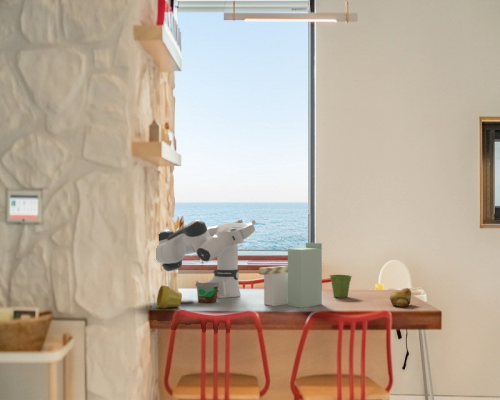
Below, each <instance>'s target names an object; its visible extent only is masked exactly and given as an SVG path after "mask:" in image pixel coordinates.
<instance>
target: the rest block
mask: <svg viewBox="0 0 500 400" xmlns="http://www.w3.org/2000/svg"><path fill="white" fill-rule="evenodd" d="M263 277H264V278H263V282H264V283H263V288H264V289H263V291H264V292H263V295H264V296H263V304H264V305H265V306H266V305H267V306H271V307H277V306H278V307H279V306H283V305H288V272H286V273H276V274H266V275H263Z"/></svg>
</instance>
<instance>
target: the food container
mask: <svg viewBox="0 0 500 400" xmlns="http://www.w3.org/2000/svg"><path fill="white" fill-rule="evenodd" d="M218 286H219V283H218V282H216V283H206V282H199V281H196V282H195V287H196V291H197V302H198V303H200V304H215V303H217V290H218Z"/></svg>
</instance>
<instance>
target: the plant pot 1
mask: <svg viewBox="0 0 500 400" xmlns="http://www.w3.org/2000/svg"><path fill="white" fill-rule="evenodd" d="M182 297H183V295H182V292H180V291H179V290H178V291H177V290H175V289H173V288H170V287H169V286H168V285H160V286H159V289H158V292H157V297H156V308H157V309H166V308H179V307H180V306H181V303H182Z"/></svg>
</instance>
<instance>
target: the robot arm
mask: <svg viewBox="0 0 500 400" xmlns="http://www.w3.org/2000/svg"><path fill="white" fill-rule="evenodd" d="M205 222H206V221H203V220H201V219H195V220H191V221H190V222H189V223H187V224H186V225H184V226H183V227H181V228H179V229H177V230H176V231H174V230H171V229H162V230H159V231H160V234H159V242H160V243H159V245H158V246H157V248H156V260H157V261H156V260H155V261H156V262H157V263H159V264H161V267H162V268H163V270H165V271H166V272H175V271H177V270H179V269H180V268H182V265H183V259H184V258H185V255H190V254H196V255H197V257H198V258H199V259H200V260H201V261H203V262H209V261H212V260H214V259H215V258H217V260H216V261H217V263H216V264H217V267H216V269H215V270H213V271H212V274H213V276H212V277H211V278H210V279H209V280H207V281H206V282H205V283H216V282H218V283H219V286H218V290H217V298H218V299H224V298H225V299H226V298H235V297H236V298H237V297H240V296H241V295H242V294H241V291H240V285H239V278H240V276H239V275H240V273H239V265H238V264H239V260H238V259H239V257H238V256H239V254H238V246H239V244H242V243H243V242H244V240H246V239H248V238H249V237H250V236H251V235H252V234H253V233H254V232H255V231H256V228H255V224H256V223H257V222H256V220H255V219H252V220H249V222H248V223H245V222H243V220H242V219H238V220H236V221H234V222H225V223H222V224H221V223H220V224H216V225H213V226H209V227H207V225H206V223H205Z"/></svg>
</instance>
